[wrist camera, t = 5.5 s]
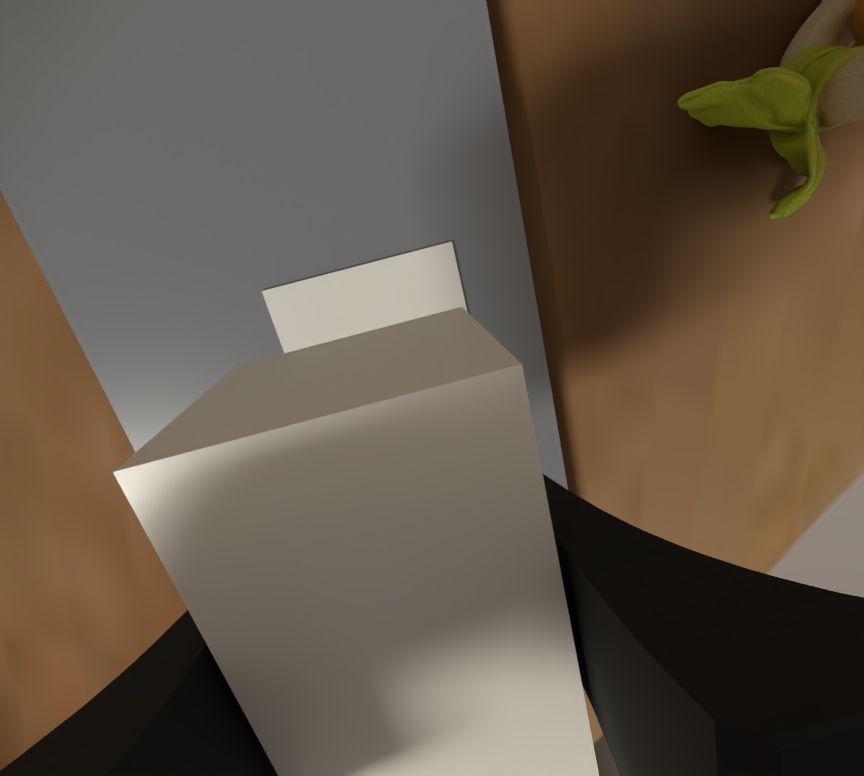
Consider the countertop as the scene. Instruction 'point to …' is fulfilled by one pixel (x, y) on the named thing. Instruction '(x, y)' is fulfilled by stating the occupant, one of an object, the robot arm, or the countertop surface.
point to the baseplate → (262, 184)
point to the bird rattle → (797, 94)
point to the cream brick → (375, 556)
